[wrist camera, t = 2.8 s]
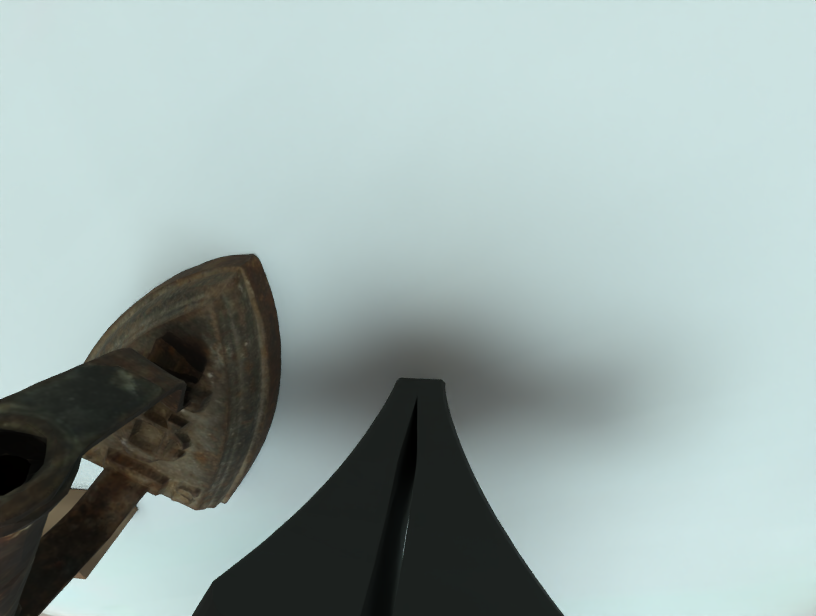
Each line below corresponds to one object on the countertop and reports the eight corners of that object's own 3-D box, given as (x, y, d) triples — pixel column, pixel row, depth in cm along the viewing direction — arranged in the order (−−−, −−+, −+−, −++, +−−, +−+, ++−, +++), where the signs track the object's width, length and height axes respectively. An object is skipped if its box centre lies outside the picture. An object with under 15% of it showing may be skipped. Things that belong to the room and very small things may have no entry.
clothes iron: (82, 415, 16) (-423, 726, 7) (198, 180, 13) (-391, 133, 4) (228, 500, 17) (-36, 891, 7) (368, 295, 14) (234, 498, 5)
